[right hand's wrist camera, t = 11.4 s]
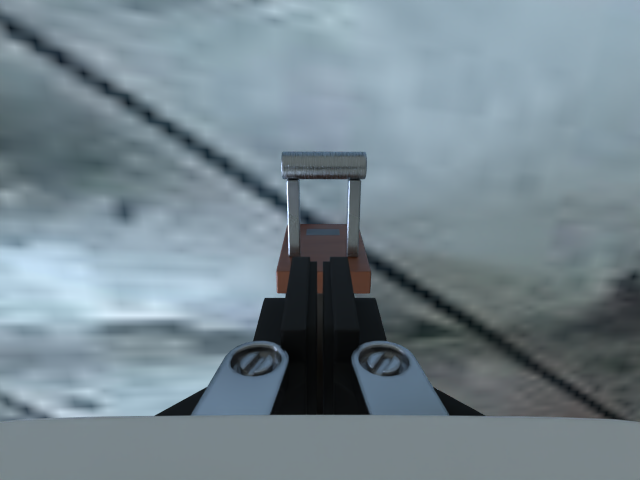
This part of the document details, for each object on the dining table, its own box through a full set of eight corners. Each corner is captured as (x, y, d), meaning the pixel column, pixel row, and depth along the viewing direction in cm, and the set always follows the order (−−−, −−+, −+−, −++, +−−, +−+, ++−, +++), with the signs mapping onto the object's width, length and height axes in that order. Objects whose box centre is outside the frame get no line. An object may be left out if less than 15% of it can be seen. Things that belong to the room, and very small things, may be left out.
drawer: (285, 138, 24) (271, 158, 18) (361, 138, 24) (377, 159, 18) (292, 415, 32) (285, 504, 25) (351, 415, 32) (359, 504, 25)
